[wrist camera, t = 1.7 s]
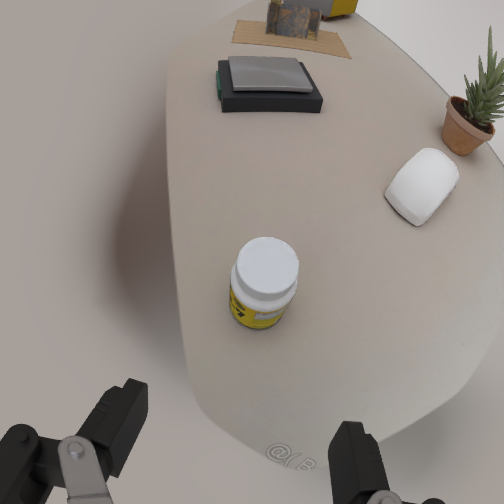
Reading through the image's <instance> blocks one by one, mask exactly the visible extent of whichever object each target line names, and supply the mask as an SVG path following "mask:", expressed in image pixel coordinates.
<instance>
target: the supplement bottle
mask: <svg viewBox="0 0 504 504" xmlns="http://www.w3.org/2000/svg"><path fill="white" fill-rule="evenodd" d="M298 273H299V261H298V258H297V255H296V253H295V252H294V250H293V249H292V248H291V247H290V246H289V245H288V244H287V243H285V242H284V241H282V240H280V239H277V238H273V237H259V238H256V239H253V240H251V241H249V242H248V243H247V244H245V245H244V246H243V248H242V249H241V250H240V252H239V254H238V258H237V260H236V262H235V263H234V265H233V268H232V271H231V275H230V302H229V303H230V310H231V313H232V315H233V317H234V319H235V320H236V321H237V322H238V323H239V324H240V325H241V326H243V327H245V328H247V329H250V330H256V331H259V330H265V329H268V328H270V327H272V326H274V325H275V324H276V323H277V322H278V321H279V320H280V318H281V317H282V315H283V313H284V312H285V310H286V308H287V307H288V305H289V303H290V302H291V300H292V298H293V296H294V295H295V292H296V289H297V283H298V279H297V277H298Z"/></svg>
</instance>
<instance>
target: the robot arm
mask: <svg viewBox="0 0 504 504" xmlns="http://www.w3.org/2000/svg"><path fill="white" fill-rule="evenodd" d="M147 413H148V385H147V383H143V382H140V381H137V380H134V379H131V378H129V379H128V380H127V382H126V383H125V385H124V386H123V388H120V387H117V386H114V387H112V388H111V389H109V390H107V391H106V392H105V393H104V394H103V396H102V397H101V399H100V400H99V402H98V403H97V404H96V406H95V408H94V409H93V410H92V412H91V413H90V415H89V416H88V418H87V419H86V421H85V422H84V424H83V425H82V427H81V428H80V429H79V431H78V432H77V434H76V435H74V436H69V437H66V438H64V439H63V440H55V439H50V438H45V437H40V436H38V434H37V432H36V431H35V429H34V428H32V427H31V426H29V425H26V424H17V425H14V426H12V427H11V428H10V429H9V430H8V431H7V433H6V434H5V435H4V437H3V438H2V440H1V441H0V504H45V503H46V501H47V498H48V497H49V495H50V493H51V491H52V489H53V487H54V486H57V487H62V488H66V489H67V493H68V498H67V502H68V504H113V501H112V498H111V496H110V493H109V491H108V488H107V485H106V482H107V480H108V478H109V476H110V475H111V476H114V477H116V478H118V477H119V475H120V472H121V470H122V468H123V466H124V464H125V462H126V460H127V457H128V456H129V453H130V451H131V449H132V447H133V445H134V443H135V441H136V439H137V437H138V434H139V433H140V431H141V429H142V426H143V424H144V422H145V420H146V417H147ZM328 460H329V468H330V477H331V485H332V495H333V504H415V503H408V502H404V501H401V499H400V497H399V496H398V495H397V494H396V493H394V492H392V491H390V488H389V484H388V481H387V477H386V473H385V469H384V465H383V462H382V458H381V455H380V451H379V447H378V443H377V442H376V440H375V439H374V438H373V437H372V435H371V434H365V431H364V428H363V424H362V423H361V422H352V421H343V422H342V423H341V425H340V427H339V429H338V430H337V432H336V434H335V436H334V437H333V439H332V441H331V443H330V445H329V449H328ZM422 504H445V503H444V502H443V501H442V500H440V499H437V498H430V499H427V500H426V501H424V502H423V503H422Z"/></svg>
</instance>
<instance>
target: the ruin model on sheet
mask: <svg viewBox="0 0 504 504" xmlns="http://www.w3.org/2000/svg"><path fill="white" fill-rule="evenodd" d="M281 1H282V0H271V2H269V6H268V14H267V22H257V21H242V20H237V24H236V28H235V32H234V35H233V39H232V43H248V44H260V45H271V46H280V47H288V48H295V49H302V50H309V51H315V52H320V53H326V54H331V55H336V56H341V57H345V58H350V59H351V57H350V55H349V53H348V51H347V49H346V48H345V46H344V44H343V42H342V40H341V39H340V37H339V35H338V33H333V32H328V31H323V30H319V26H320V21H321V16H322V11H321V10H320V9H314V8H309V7H302V6H296V5H289V4H281Z"/></svg>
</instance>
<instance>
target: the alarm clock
mask: <svg viewBox="0 0 504 504" xmlns="http://www.w3.org/2000/svg"><path fill="white" fill-rule="evenodd" d="M283 1H284V3H285V4H289V5H296V6H302V7H309V8H314V9H320V10H321V11H322V15H323V19H324V20H326V18H327V17H333V16H338V15H342V16H344V15H345V14H350V13H354V12H355V9H356V5H357V2H358V0H283Z"/></svg>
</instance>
